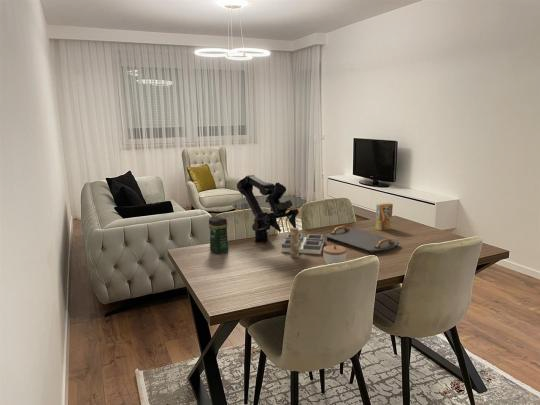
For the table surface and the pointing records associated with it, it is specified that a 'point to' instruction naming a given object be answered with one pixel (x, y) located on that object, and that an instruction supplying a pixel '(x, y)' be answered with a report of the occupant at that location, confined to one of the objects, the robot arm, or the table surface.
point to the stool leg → (294, 242)
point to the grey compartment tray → (305, 244)
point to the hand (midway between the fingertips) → (288, 230)
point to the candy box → (383, 216)
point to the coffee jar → (218, 235)
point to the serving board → (362, 239)
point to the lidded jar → (334, 254)
